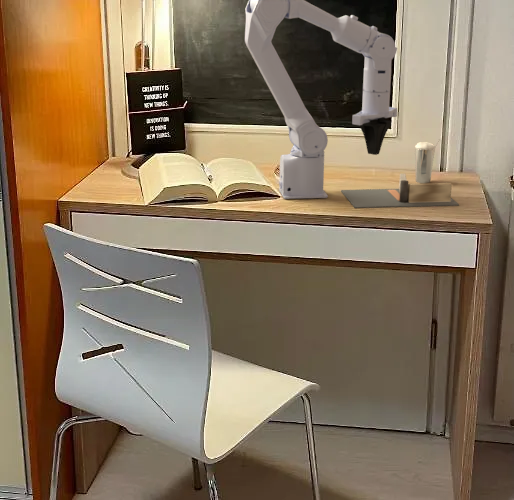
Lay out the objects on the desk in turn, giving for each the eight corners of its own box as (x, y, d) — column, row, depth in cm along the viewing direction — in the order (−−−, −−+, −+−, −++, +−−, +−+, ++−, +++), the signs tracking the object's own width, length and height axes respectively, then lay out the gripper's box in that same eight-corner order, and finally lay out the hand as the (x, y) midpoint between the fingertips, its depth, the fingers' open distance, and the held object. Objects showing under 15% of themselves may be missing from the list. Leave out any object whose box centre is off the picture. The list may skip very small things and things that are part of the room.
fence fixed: (400, 202, 188) (401, 182, 186) (398, 200, 189) (399, 180, 188) (450, 201, 189) (452, 181, 188) (448, 199, 191) (450, 179, 189)
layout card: (354, 208, 185) (354, 206, 185) (340, 191, 198) (341, 189, 198) (458, 205, 187) (458, 203, 187) (438, 189, 200) (438, 187, 200)
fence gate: (406, 198, 189) (407, 183, 188) (400, 198, 190) (401, 183, 189) (404, 187, 198) (405, 173, 197) (399, 187, 198) (399, 173, 197)
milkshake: (436, 184, 204) (439, 141, 201) (412, 183, 205) (415, 139, 202) (436, 180, 208) (439, 137, 205) (413, 178, 209) (415, 136, 206)
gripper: (373, 96, 183) (370, 161, 188) (410, 89, 194) (406, 151, 198) (345, 92, 188) (342, 157, 192) (382, 85, 198) (379, 146, 202)
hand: (373, 153), depth 195 cm, fingers closed
